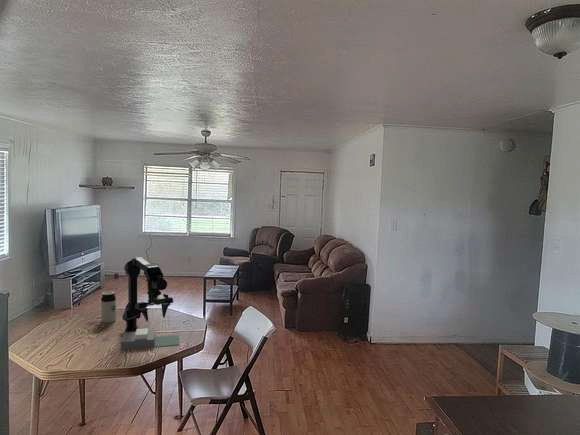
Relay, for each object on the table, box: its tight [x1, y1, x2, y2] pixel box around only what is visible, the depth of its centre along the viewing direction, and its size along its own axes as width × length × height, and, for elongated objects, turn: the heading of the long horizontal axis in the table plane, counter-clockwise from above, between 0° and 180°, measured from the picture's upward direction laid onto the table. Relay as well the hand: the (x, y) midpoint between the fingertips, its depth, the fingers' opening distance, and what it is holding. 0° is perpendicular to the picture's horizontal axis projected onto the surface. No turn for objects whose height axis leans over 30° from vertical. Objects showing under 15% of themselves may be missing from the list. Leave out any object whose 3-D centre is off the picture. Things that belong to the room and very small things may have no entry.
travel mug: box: [100, 290, 117, 324], centre depth 235 cm, size 8×8×18 cm
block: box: [135, 328, 149, 340], centre depth 202 cm, size 9×6×2 cm, turn 17°
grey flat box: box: [120, 330, 156, 351], centre depth 201 cm, size 13×16×4 cm
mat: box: [154, 334, 180, 348], centre depth 206 cm, size 14×12×1 cm
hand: (155, 319), depth 199 cm, fingers open, 9 cm apart
